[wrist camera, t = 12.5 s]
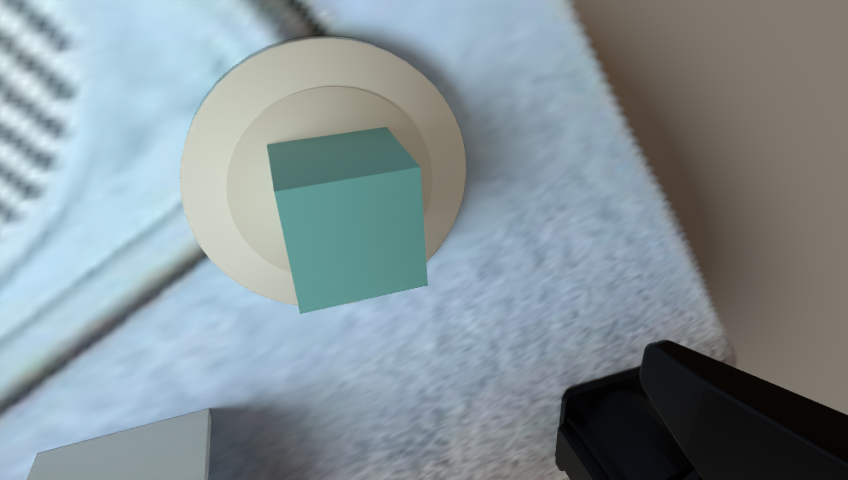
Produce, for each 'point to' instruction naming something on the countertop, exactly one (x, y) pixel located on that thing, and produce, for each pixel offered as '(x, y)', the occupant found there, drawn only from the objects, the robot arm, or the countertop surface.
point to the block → (349, 216)
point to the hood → (135, 453)
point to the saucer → (300, 119)
